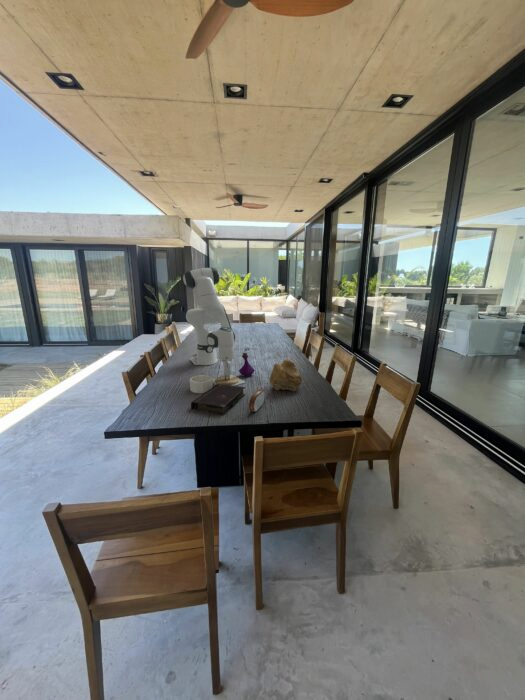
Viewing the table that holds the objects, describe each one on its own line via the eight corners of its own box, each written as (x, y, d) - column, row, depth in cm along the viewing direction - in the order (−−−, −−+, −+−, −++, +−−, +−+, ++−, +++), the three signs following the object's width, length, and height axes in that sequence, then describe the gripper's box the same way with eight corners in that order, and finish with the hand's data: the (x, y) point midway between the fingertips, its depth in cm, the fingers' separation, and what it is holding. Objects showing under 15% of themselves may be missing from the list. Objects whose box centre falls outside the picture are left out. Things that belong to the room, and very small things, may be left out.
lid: (211, 380, 177) (210, 372, 175) (231, 375, 185) (231, 367, 184) (222, 387, 166) (222, 378, 165) (243, 381, 174) (243, 373, 173)
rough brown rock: (293, 399, 154) (296, 372, 150) (264, 391, 161) (267, 365, 157) (307, 386, 174) (310, 362, 170) (281, 379, 181) (284, 356, 177)
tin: (260, 401, 149) (260, 385, 147) (266, 402, 148) (266, 386, 146) (248, 414, 136) (248, 397, 134) (254, 415, 135) (254, 398, 132)
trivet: (208, 380, 177) (208, 380, 177) (231, 375, 186) (231, 374, 186) (222, 389, 165) (222, 388, 165) (245, 383, 174) (245, 382, 174)
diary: (190, 410, 140) (189, 400, 139) (216, 391, 163) (215, 383, 162) (225, 416, 134) (225, 406, 133) (247, 395, 157) (246, 387, 156)
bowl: (187, 387, 166) (186, 377, 165) (206, 383, 173) (206, 373, 172) (196, 394, 157) (195, 384, 155) (216, 389, 164) (216, 379, 162)
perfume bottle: (247, 378, 182) (247, 350, 178) (238, 375, 186) (238, 348, 182) (255, 375, 188) (255, 347, 183) (246, 372, 192) (245, 345, 188)
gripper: (232, 360, 162) (233, 383, 165) (231, 350, 181) (231, 372, 185) (221, 360, 161) (222, 384, 164) (220, 351, 181) (221, 372, 184)
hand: (227, 377), depth 175 cm, fingers closed on lid, 3 cm apart
